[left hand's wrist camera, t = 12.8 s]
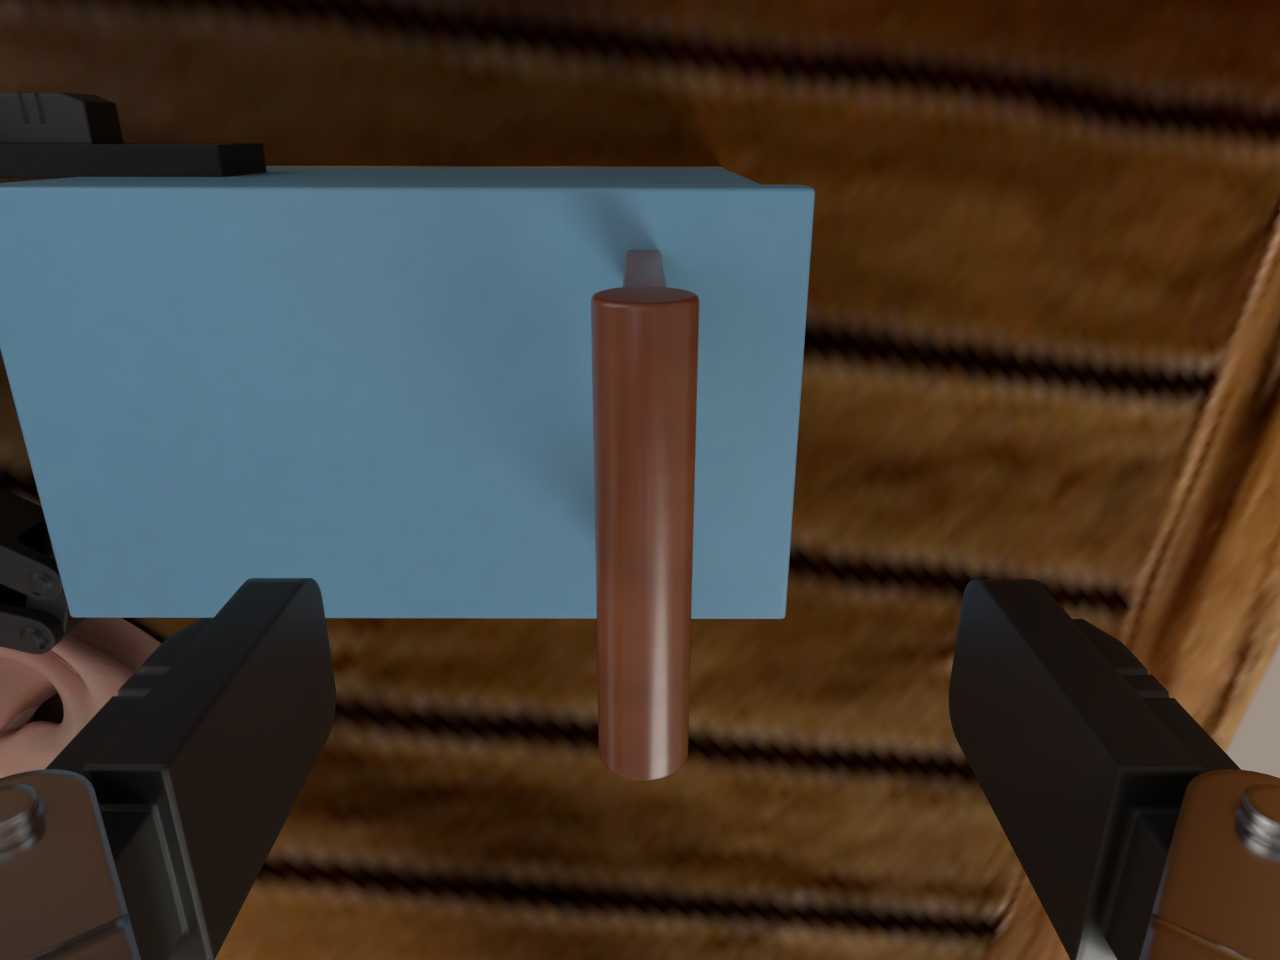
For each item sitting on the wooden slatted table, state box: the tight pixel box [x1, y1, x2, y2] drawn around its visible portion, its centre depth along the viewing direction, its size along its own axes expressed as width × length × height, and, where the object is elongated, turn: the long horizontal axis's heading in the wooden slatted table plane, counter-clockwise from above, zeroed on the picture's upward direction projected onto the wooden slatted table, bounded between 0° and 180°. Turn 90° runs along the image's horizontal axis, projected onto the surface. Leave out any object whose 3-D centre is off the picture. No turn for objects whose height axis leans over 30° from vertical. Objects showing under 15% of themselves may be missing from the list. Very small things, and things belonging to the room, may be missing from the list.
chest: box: [7, 166, 761, 185], centre depth 26 cm, size 16×10×11 cm, turn 90°
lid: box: [0, 183, 815, 781], centre depth 17 cm, size 17×10×8 cm, turn 90°
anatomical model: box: [0, 618, 162, 778], centre depth 34 cm, size 13×4×12 cm
